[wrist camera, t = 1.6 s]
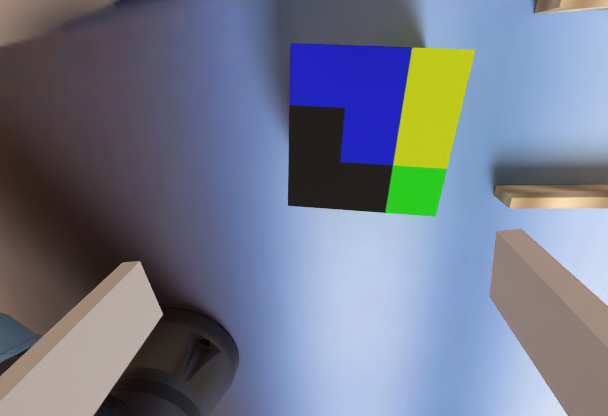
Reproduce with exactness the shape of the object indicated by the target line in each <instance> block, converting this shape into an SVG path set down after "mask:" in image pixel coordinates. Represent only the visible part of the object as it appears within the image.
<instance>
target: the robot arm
mask: <svg viewBox="0 0 608 416" xmlns="http://www.w3.org/2000/svg"><path fill="white" fill-rule="evenodd" d="M490 298H491V299H492V301H493V303H494V304H495V306H496V307H497V309H498V310H499V312H500V313H501V315H502V316H503V318H504V319H505V321H506V322H507V324H508V325H509V327H510V328H511V330H512V331H513V333H514V334H515V336H516V338H517V339H518V341H519V342H520V344H521V345H522V347H523V348H524V350H525V351H526V353H527V354H528V356H529V357H530V359H531V360H532V362H533V363H534V365H535V366H536V368H537V369H538V371H539V372H540V374H541V376H542V377H543V379H544V380H545V382H546V383H547V385H548V386H549V388H550V389H551V391H552V392H553V394H554V395H555V397H556V398H557V400H558V401H559V403H560V404H561V406H562V407H563V409H564V410H565V412H566V414H567V415H568V416H608V306H607V305H606V304H605V303H604V302H603V301H601V300H600V299H599V298H598V297H597V296H596V295H595V294H594V293H592V292H591V291H590V290H589V289H588V288H587V287H586V286H585V285H584V284H582V283H581V282H580V281H579V280H578V279H577V278H576V277H575V276H573V275H572V274H571V273H570V272H569V271H568V270H567V269H566V268H564V267H563V266H562V265H561V264H560V263H559V262H558V261H557V260H556V259H554V258H553V257H552V256H551V255H550V254H549V253H548V252H547V251H545V250H544V249H543V248H542V247H541V246H540V245H539V244H538V243H537V242H535V241H534V240H533V239H532V238H531V237H530V236H529V235H528V234H526V233H525V232H524V231H523V230H522V229H516V230H505V231H496V241H495V250H494V259H493V269H492V278H491V287H490ZM238 363H239V355H238V350H237V347H236V345H235V343H234V341H233V340H232V338H231V337H230V336H229V334H228V333H227V332H226V331H225V330H224V329H223V328H222V327H220V326H219V325H218V324H216V323H215V322H213V321H212V320H210V319H208V318H206V317H204V316H202V315H200V314H197V313H194V312H191V311H187V310H181V309H162V310H161V308H160V306H159V304H158V301H157V299H156V297H155V295H154V292H153V290H152V288H151V285H150V283H149V281H148V279H147V276H146V274H145V272H144V269H143V267H142V265H141V262H140V261H135V262H123V263H121V264H120V265H119V266H118V267H117V268H116V269H115V270H114V271H113V272H112V273H111V274H110V275H109V276H108V277H106V278H105V279H104V280H103V281H102V282H101V283H100V284H99V285H98V286H97V287H96V288H95V289H94V290H92V291H91V292H90V293H89V294H88V295H87V296H86V297H85V298H84V299H83V300H82V301H81V302H80V303H78V304H77V305H76V306H75V307H74V308H73V309H72V310H71V311H70V312H69V313H68V314H67V315H66V316H64V317H63V318H62V319H61V320H60V321H59V322H58V323H57V324H56V325H55V326H54V327H53V328H52V329H51V330H49V331H48V332H47V333H46V334H45V335H44V336H42V335H40V334H35V333H33V332H32V331H30V330H29V329H28V328H26V327H25V326H23V325H22V324H20V323H19V322H18V321H16V320H15V319H13V318H12V317H11V316H9V315H7V314H4V313H0V416H208V415H209V414H210V413H211V411H212V410H213V409H214V407H215V406H216V405H217V403H218V402H219V400H220V399H221V398H222V396H223V395H224V394H225V392H226V391H227V390H228V388H229V387H230V385H231V383H232V381H233V379H234V376H235V373H236V370H237V367H238Z"/></svg>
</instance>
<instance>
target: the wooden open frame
mask: <svg viewBox="0 0 608 416" xmlns="http://www.w3.org/2000/svg"><path fill="white" fill-rule="evenodd" d="M599 9H608V0H537V4H536V8H535V13H534V14H537V13H552V12H568V11H584V10H599ZM494 196H495V197H497V198H498V199H499V200H500V201H501V202H502V203H504V204H505V205H506V206H507V207H508V208H608V185H500V186H496V188H495V192H494Z"/></svg>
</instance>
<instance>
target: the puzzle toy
mask: <svg viewBox="0 0 608 416" xmlns="http://www.w3.org/2000/svg"><path fill="white" fill-rule="evenodd" d="M474 53H475V50H466V49H438V48H410V47H382V46H354V45H325V44H297V43H291V51H290V114H289V177H288V206H301V207H314V208H328V209H342V210H355V211H369V212H383V213H396V214H410V215H424V216H436V212H437V208H438V204H439V200H440V196H441V191H442V187H443V183H444V179H445V175H446V170H447V166H448V162H449V158H450V154H451V150H452V145H453V141H454V137H455V133H456V129H457V124H458V120H459V116H460V112H461V108H462V104H463V99H464V95H465V91H466V87H467V83H468V78H469V74H470V70H471V66H472V62H473V58H474Z"/></svg>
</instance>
